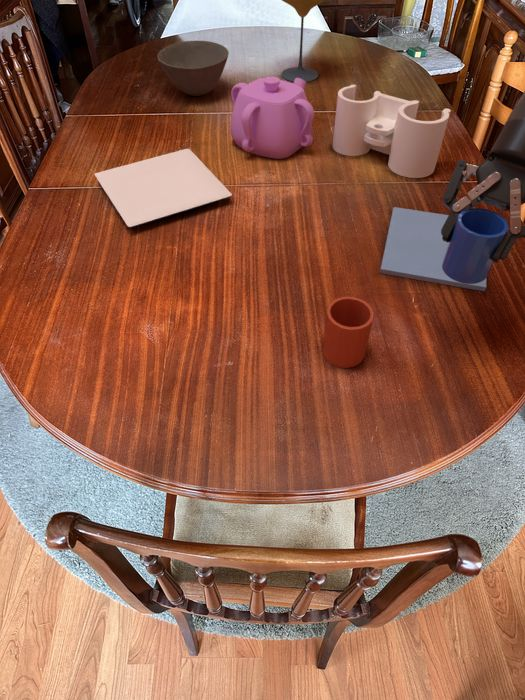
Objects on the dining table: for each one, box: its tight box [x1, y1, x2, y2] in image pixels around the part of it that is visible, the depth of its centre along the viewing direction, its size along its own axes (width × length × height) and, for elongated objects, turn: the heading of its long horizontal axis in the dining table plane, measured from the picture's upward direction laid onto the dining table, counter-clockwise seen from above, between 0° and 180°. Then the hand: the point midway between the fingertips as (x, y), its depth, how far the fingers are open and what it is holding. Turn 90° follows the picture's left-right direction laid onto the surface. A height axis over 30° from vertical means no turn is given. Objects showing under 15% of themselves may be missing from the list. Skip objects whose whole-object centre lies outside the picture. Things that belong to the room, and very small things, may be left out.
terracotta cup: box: [321, 296, 375, 369], centre depth 75 cm, size 7×7×8 cm
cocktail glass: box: [281, 0, 327, 83], centre depth 139 cm, size 18×18×25 cm
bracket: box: [332, 84, 452, 179], centre depth 113 cm, size 25×10×12 cm, turn 54°
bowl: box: [157, 40, 230, 97], centre depth 137 cm, size 19×19×10 cm
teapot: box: [230, 75, 315, 160], centre depth 118 cm, size 19×21×14 cm
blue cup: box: [442, 207, 509, 284], centre depth 70 cm, size 6×6×8 cm
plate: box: [94, 148, 233, 228], centre depth 107 cm, size 22×22×2 cm
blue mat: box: [379, 206, 487, 292], centre depth 95 cm, size 18×20×1 cm
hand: (469, 250), depth 68 cm, fingers closed on blue cup, 6 cm apart
